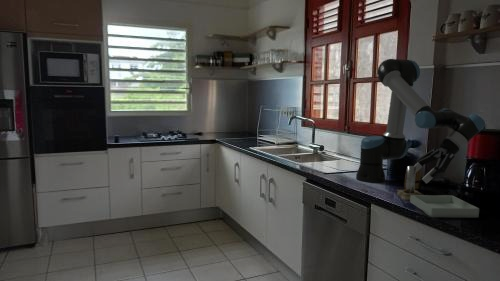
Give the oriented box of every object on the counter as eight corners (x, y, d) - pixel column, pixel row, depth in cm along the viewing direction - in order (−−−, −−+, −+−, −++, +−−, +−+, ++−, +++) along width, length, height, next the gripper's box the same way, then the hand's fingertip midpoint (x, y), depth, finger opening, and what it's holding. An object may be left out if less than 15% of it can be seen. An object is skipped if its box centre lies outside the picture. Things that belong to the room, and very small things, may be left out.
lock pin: (404, 196, 164) (405, 165, 162) (411, 196, 164) (413, 165, 162) (407, 198, 161) (409, 167, 159) (415, 198, 161) (417, 167, 159)
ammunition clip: (417, 189, 179) (419, 165, 177) (421, 190, 177) (422, 166, 176) (403, 192, 174) (404, 167, 172) (406, 193, 172) (407, 168, 171)
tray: (409, 203, 155) (410, 195, 155) (451, 203, 156) (452, 195, 155) (431, 217, 138) (431, 208, 137) (478, 217, 138) (479, 208, 137)
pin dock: (397, 196, 166) (397, 189, 166) (414, 196, 166) (414, 189, 166) (404, 201, 158) (405, 194, 158) (422, 201, 159) (423, 194, 158)
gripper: (476, 154, 147) (437, 190, 148) (442, 146, 171) (409, 177, 173) (464, 141, 146) (425, 178, 147) (432, 134, 171) (398, 166, 172)
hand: (416, 177), depth 160 cm, fingers open, 13 cm apart
